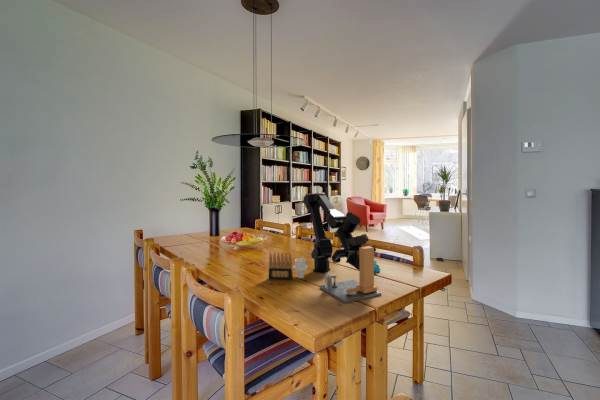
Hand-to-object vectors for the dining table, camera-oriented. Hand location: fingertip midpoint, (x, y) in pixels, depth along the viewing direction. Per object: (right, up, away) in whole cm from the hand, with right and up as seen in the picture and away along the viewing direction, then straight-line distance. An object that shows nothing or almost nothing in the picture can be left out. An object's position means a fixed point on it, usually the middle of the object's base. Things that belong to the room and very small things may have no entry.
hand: (363, 272), depth 112 cm
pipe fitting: (-24, -7, +20) cm, 32 cm away
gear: (+10, -7, +28) cm, 30 cm away
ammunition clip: (-33, -8, +17) cm, 38 cm away
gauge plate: (-5, -8, +1) cm, 9 cm away
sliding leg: (-2, -7, -3) cm, 7 cm away
